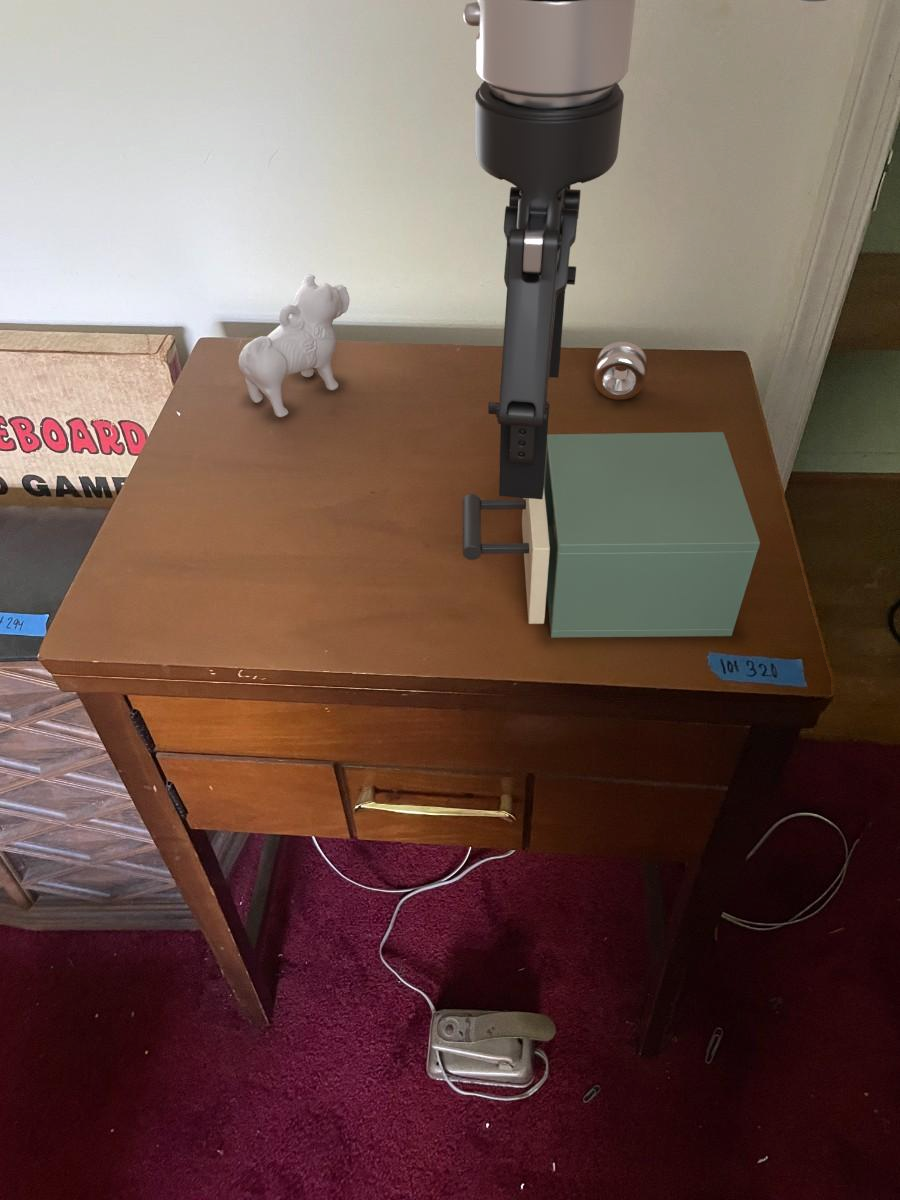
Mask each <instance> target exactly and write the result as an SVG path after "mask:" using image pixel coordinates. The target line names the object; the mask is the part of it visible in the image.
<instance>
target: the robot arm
mask: <svg viewBox="0 0 900 1200" xmlns="http://www.w3.org/2000/svg"><path fill="white" fill-rule="evenodd" d="M802 1H804V2H825V1H826V0H802ZM635 7H636V0H476V1H475V2H470V3H466V4H465V8H464V10H463V13H462V16H463V21H464V22H465V24H466V25H468V26H471V27H479V32H478V34H477V36H476V73H477V75H478V76H479V77H480V78H481V79H482V80H483V82H482V83H481V84H480V86H479V87H478V88H477V90H476V91H475V95H474V97H475V98H474V99H475V100H474V101H475V102H474V105H475V107H474V109H475V110H474V111H475V112H474V114H475V115H474V117H475V119H474V121H475V124H474V125H475V126H474V128H475V131H474V132H475V133H474V134H475V139H474V140H475V142H474V143H475V146H474V149H475V150H474V151H475V158H476V161H477V163H478V164H479V167H481V168H482V170H484V172H485V173H487V174H488V175H490V176H492V177H493V178H495V179H498V180H500V181H502V180H504V181H506V182H508V183H510V184H512V185H513V186H511V187H510V189H509V199H508V200H509V201H508V205H506V206H505V209H504V220H503V234H504V238H505V240H506V250H505V261H504V274H503V281H504V284H505V287H506V300H505V314H504V327H503V341H502V342H503V343H502V359H501V372H500V373H501V374H500V389H499V402H497V401H488V407H487V413H488V415H495V417H496V418H497V419H496V420H497V423H498V425H500V434H499V435H500V437H499V439H500V441H499V478H498V479H499V481H498V484H499V485H498V488H499V489H498V496H499V497H506V498H507V497H509V498H518V499H523V498H531V499H542V498H543V490H544V476H545V461H546V447H547V435H548V430H549V417H550V402H548V390H549V381H550V378H555V379H556V378H557V379H559V374H560V365H561V363H560V362H561V349H562V339H563V338H562V337H563V324H564V313H565V297H566V289H567V287H568V285H571V286H572V285H573V286H574V285H575V284H576V276H577V266H574V265H572V266H571V265H569V264H570V253H571V248H572V246H573V244H574V243H575V242H576V238H577V237H576V236H577V230H578V229H577V227H578V219H579V214H580V212H579V211H580V203H581V189H572V188H571V186H573V185H575V184H578V183H581V184H585V183H588V182H591V181H593V180H596V179H598V178H600V177H601V176H604V175H605V174H606V173H608V171H610V169H611V168H612V167H613V166H614V164H615V163H616V160H617V159H618V155H619V146H620V136H621V127H622V116H623V109H624V108H623V107H624V100H625V96H624V95H625V94H624V92H623V89H621V87H620V84H618V83H620V82H621V81H622V80H623V79H624V78H625V76H626V75H627V73H628V72H629V65H630V64H629V63H630V55H631V46H632V36H633V26H634V17H635Z"/></svg>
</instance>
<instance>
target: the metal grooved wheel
mask: <svg viewBox="0 0 900 1200" xmlns="http://www.w3.org/2000/svg"><path fill="white" fill-rule="evenodd" d="M617 367H623V368H626V370H618V369H616V368H617ZM647 372H648V359H647V355H646V354H645V352H644V351H643V349H641V348H640V346H638V345H636V344H634V343H632V342H628V341H616V342H611V343H610V344H608V345H606V346H604V347H603V348H602V350H600V352H599V353H598V355H597V358H596V362H595V366H594V373H593V380H594V385H595V387H596V388H597V390H598V391H599V392H600V393H601V394H602V395H603V396H604V397H606V398H608V399H611V400H615V401H623V400H628V399H631V398H633V397H635V396H636V395H637V394H639V393H640V392H641V391H642V390H643V388H644V386H645V385H646V384H645V383H646V381H647Z"/></svg>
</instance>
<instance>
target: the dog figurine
mask: <svg viewBox="0 0 900 1200" xmlns="http://www.w3.org/2000/svg"><path fill="white" fill-rule="evenodd" d="M315 279H316V275H314V274H305V276H304V278H303V280H302V283H301V286H300V287H299V288H298V290H297V292H296V294H295V297H294V304H285V305H284V306H282V307H281V308H280V310H279V314H278V319H279V325H278V326H277V327H276V328H275V329H274V330H273V331H271V332H270V333H268V334H267V336H263V335H262V336H261V335H260V336H257V337H256V338H254V339H252V340H251V341H249V342H248V343H246V344H245V345H244V347H243V348H242V350H241V352H240V354H239V356H238V367H239V369H240V371H241V373H242V374H243V377H244V381H245V383H246V386H247V387H246V388H247V391H248V394H249V397H250V399H251V401H252V402H254V403H256V404H258V403H260V402H261V401H262V400H263V395H264V396H265V397H266V398H267V399H268V400H269V402H270V404H271V407H272V409H273V412H274V415H275V416H276V417H278V418H283V417H285V416H287V415H288V414H289V411H288V409H287V408H286V407H285V406H284V403H283V398H282V397H283V396H282V384H283V382H284V380H285V378H286V377H287V376H289V375H294V374H297V373H301V375H302V376H303V377H305V378H310V377H312V376H313V375H314V373H315V371H314V369H316V371H317V373H318V374H319V376H320V378H321V379H322V380H323V381H324V384H325V387H326V389H327V390H329V391H334V390H336V389H338V388H339V383H338V382H337V380H336V379H335V378H334V373H333V368H332V359H333V356H334V354H335V351H336V347H337V334H336V331H335V329H334V326H333V321H334V320H336V319H337V318H339V317H341V316H342V315H343V314H345V313H346V312H348V309H349V305H350V295H349V292H348V288H347V287H346V286H345V285H343V284H341V283H338V284H336V285H334V286H332V285H331V284H329V283H327V282H323V283H322V284H321V283H320V284H316V282H315ZM260 391H261V392H262V393H261V392H260ZM262 394H263V395H262Z"/></svg>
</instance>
